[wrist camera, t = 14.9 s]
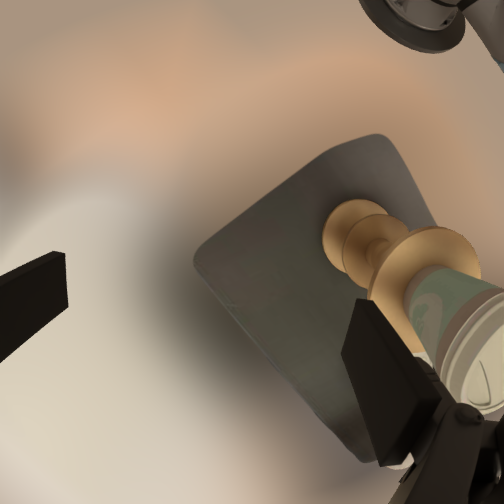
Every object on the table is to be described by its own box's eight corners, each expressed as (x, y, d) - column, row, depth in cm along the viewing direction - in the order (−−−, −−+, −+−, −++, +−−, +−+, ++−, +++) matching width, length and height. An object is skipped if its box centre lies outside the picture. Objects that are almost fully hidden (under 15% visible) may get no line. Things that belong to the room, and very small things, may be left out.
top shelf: (384, 214, 24) (388, 216, 23) (488, 238, 24) (494, 240, 23) (351, 344, 27) (354, 350, 26) (452, 349, 27) (456, 354, 26)
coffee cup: (391, 252, 24) (473, 315, 12) (472, 246, 23) (564, 292, 12) (383, 344, 26) (436, 436, 14) (459, 331, 25) (527, 401, 14)
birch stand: (328, 192, 47) (384, 214, 24) (398, 206, 47) (488, 238, 24) (315, 267, 50) (351, 344, 27) (382, 276, 50) (452, 349, 27)
